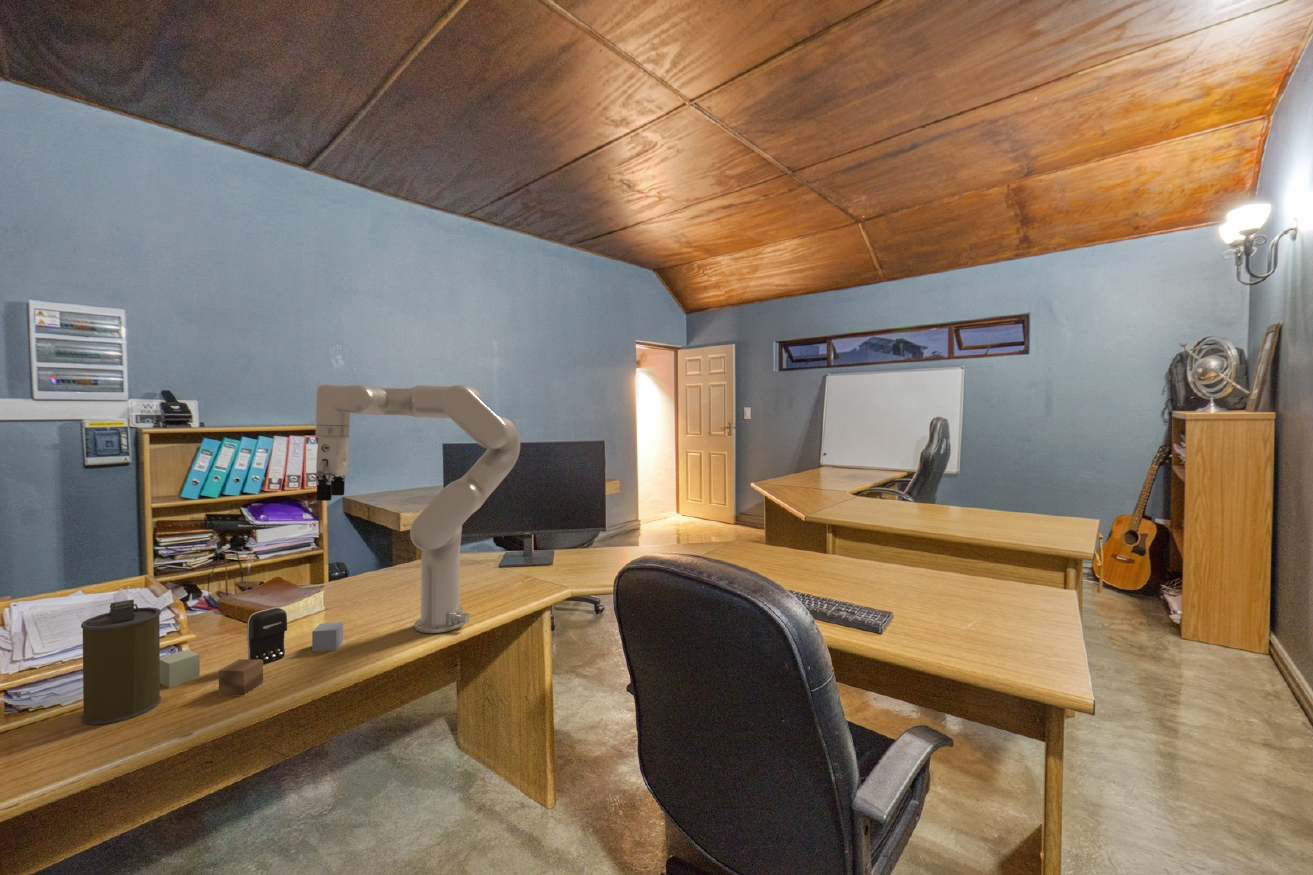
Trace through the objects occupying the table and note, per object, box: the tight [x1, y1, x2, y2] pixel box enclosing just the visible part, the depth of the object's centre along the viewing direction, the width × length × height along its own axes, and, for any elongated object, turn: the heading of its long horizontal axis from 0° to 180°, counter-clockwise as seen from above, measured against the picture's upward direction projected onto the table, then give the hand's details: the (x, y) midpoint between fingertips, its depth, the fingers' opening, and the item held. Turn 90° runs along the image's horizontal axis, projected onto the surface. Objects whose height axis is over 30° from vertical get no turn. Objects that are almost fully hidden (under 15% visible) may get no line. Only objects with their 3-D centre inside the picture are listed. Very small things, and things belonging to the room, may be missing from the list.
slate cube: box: [311, 621, 344, 653], centre depth 127 cm, size 5×5×5 cm
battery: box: [246, 607, 288, 665], centre depth 119 cm, size 7×4×11 cm, turn 149°
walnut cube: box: [218, 658, 264, 696], centre depth 106 cm, size 5×5×5 cm
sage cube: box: [160, 649, 201, 689], centre depth 110 cm, size 5×5×5 cm
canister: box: [80, 598, 162, 726], centre depth 98 cm, size 11×10×20 cm
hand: (330, 497), depth 138 cm, fingers open, 9 cm apart
